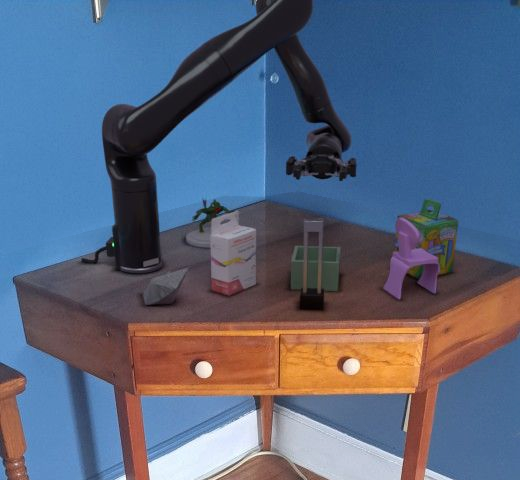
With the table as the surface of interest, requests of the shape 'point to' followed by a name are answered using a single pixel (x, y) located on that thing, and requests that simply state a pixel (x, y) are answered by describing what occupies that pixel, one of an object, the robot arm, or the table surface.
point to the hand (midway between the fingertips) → (319, 175)
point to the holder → (316, 268)
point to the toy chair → (410, 260)
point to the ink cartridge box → (232, 255)
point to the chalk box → (433, 236)
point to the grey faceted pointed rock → (164, 288)
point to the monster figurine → (203, 234)
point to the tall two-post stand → (308, 296)
